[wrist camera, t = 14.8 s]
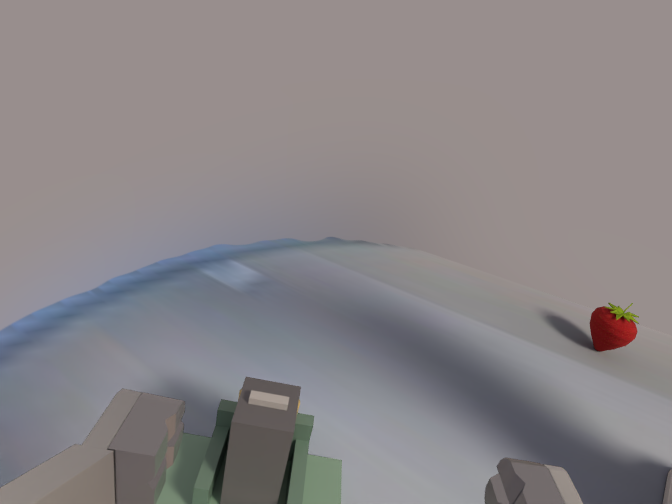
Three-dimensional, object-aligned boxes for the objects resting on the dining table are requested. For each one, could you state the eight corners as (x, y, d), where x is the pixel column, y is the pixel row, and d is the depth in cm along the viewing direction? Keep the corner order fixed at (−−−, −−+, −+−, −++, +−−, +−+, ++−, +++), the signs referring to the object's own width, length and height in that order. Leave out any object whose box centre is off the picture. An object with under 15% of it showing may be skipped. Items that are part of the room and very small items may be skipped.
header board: (334, 615, 31) (360, 552, 27) (114, 582, 30) (111, 513, 26) (339, 466, 42) (358, 407, 38) (177, 438, 41) (181, 375, 37)
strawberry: (597, 337, 76) (626, 291, 71) (627, 366, 69) (660, 317, 65) (569, 334, 75) (596, 286, 70) (597, 363, 68) (628, 313, 64)
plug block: (274, 514, 35) (295, 426, 31) (219, 505, 35) (232, 415, 30) (282, 465, 39) (302, 381, 35) (233, 457, 39) (246, 371, 34)
